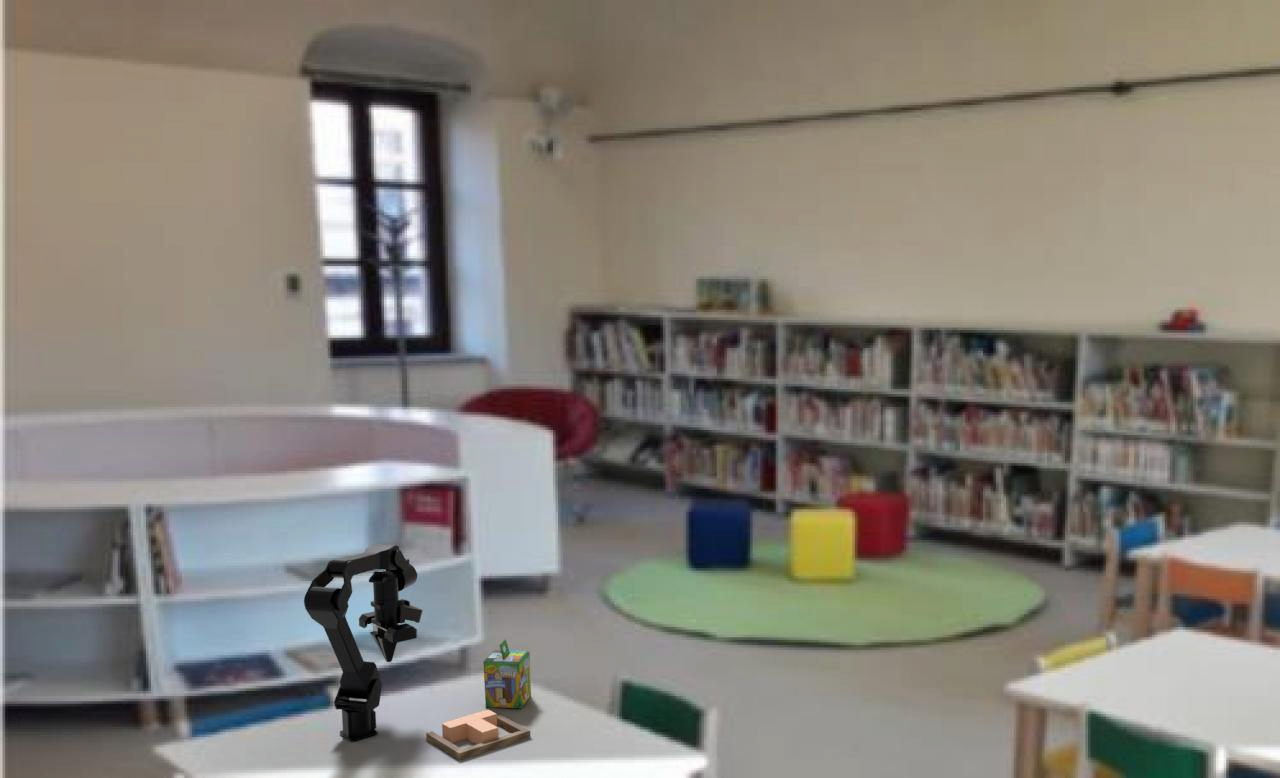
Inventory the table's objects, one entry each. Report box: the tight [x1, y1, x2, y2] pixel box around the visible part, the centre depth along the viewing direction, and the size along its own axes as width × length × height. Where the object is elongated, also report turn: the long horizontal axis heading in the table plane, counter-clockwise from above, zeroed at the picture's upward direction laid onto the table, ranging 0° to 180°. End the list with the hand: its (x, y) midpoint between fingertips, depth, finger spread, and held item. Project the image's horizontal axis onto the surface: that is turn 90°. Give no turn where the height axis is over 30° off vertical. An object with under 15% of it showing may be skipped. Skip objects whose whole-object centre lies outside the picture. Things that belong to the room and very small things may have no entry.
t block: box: [441, 709, 499, 745], centre depth 249 cm, size 12×10×4 cm
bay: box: [425, 711, 531, 761], centre depth 249 cm, size 18×14×2 cm
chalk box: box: [482, 639, 532, 709], centre depth 270 cm, size 9×9×15 cm
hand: (388, 661), depth 266 cm, fingers closed
